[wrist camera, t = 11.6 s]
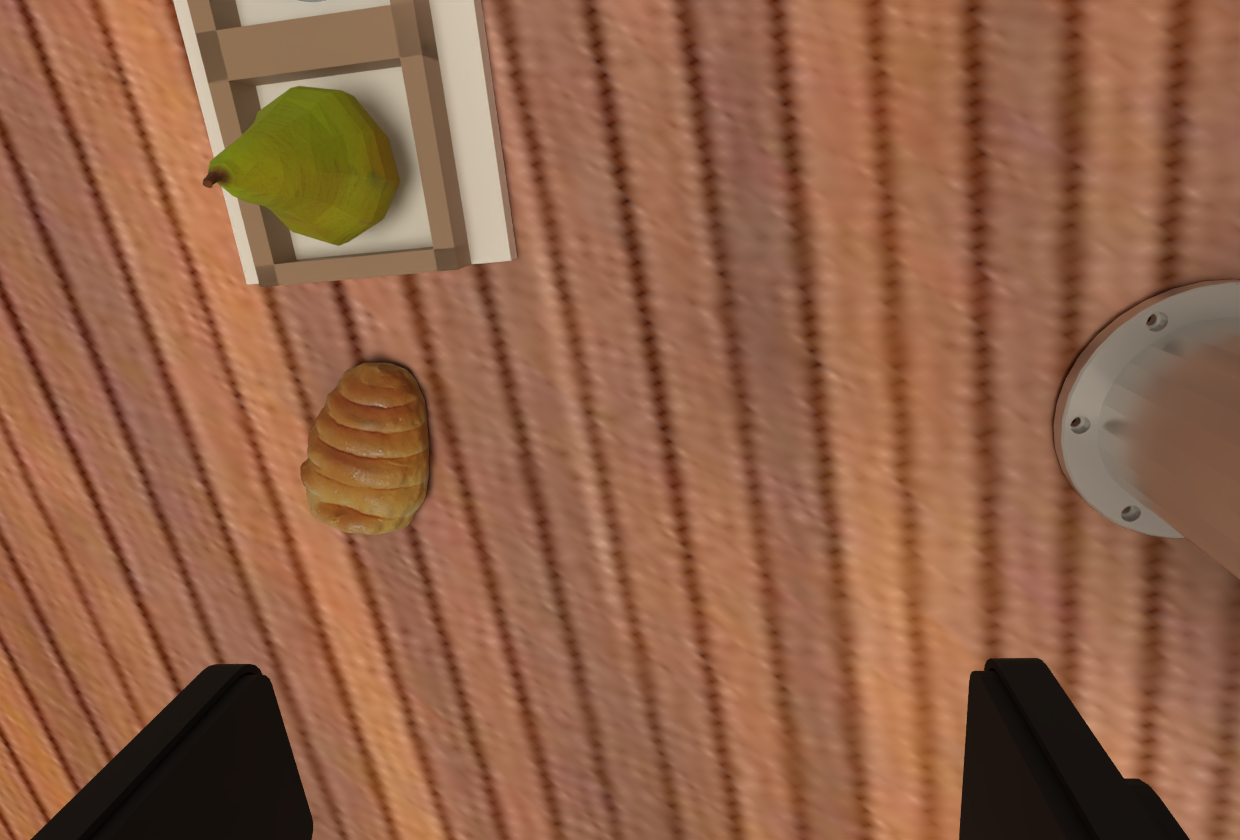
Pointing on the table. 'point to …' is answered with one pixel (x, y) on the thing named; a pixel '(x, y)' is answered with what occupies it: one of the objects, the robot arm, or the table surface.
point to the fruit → (312, 165)
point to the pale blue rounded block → (312, 0)
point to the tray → (395, 99)
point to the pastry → (369, 452)
